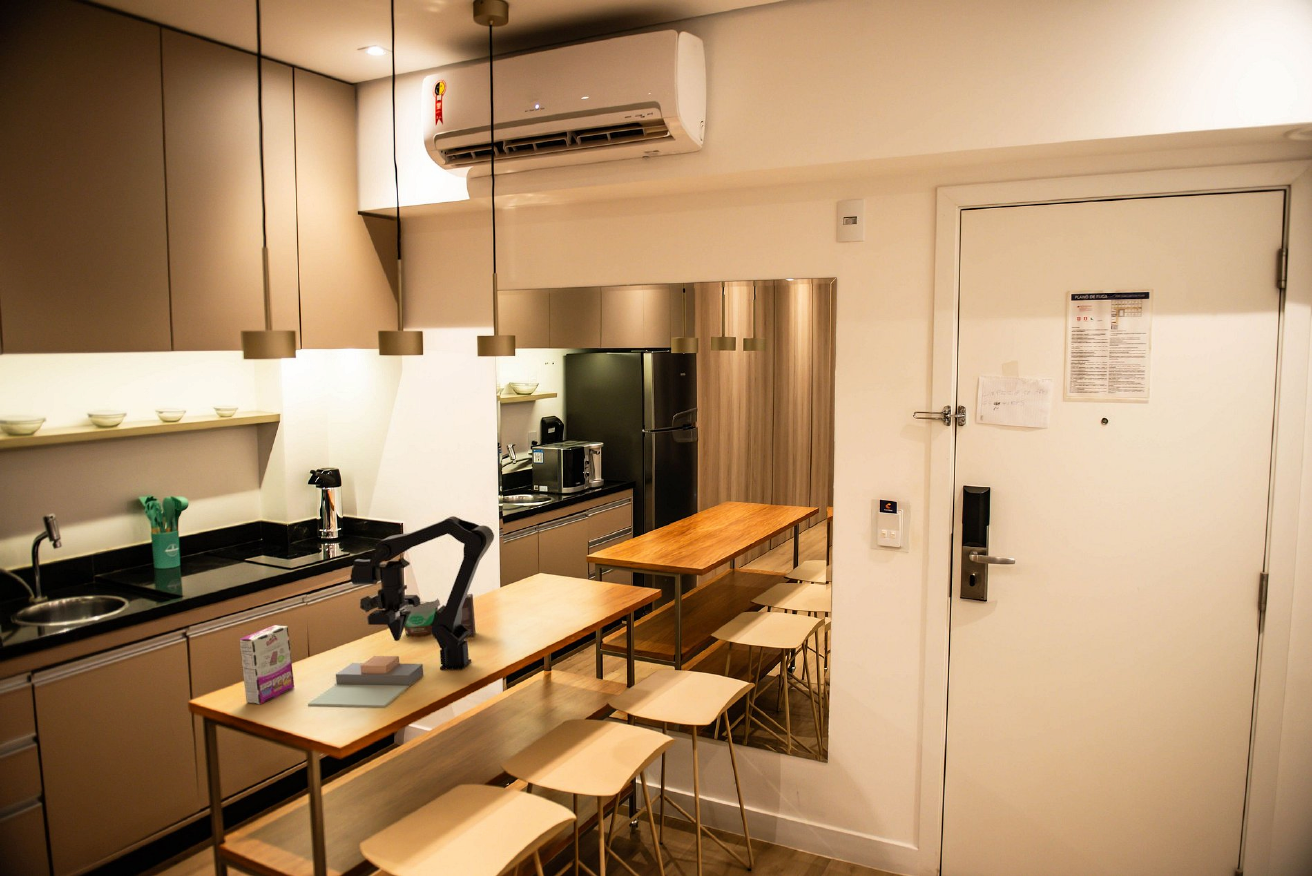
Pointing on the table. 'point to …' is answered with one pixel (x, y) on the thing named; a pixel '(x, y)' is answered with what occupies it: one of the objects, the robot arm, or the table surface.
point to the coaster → (380, 664)
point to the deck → (380, 675)
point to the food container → (420, 618)
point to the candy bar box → (266, 664)
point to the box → (468, 614)
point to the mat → (358, 695)
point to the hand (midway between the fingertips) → (397, 640)
